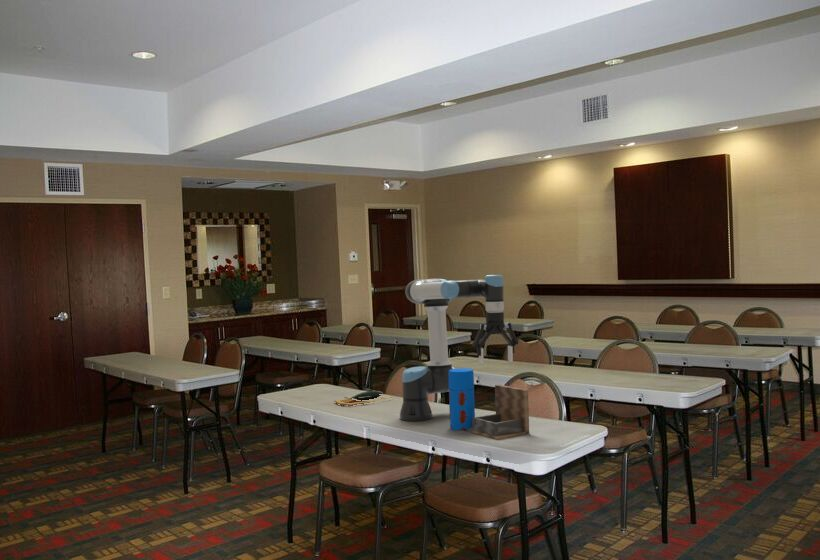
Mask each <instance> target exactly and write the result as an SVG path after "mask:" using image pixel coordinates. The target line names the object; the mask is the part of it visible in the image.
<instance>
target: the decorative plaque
mask: <svg viewBox="0 0 820 560" xmlns="http://www.w3.org/2000/svg"><path fill="white" fill-rule="evenodd" d="M379 394H382V395H384V396H386V397H387V398H392V396H388V395H385V394H384V393H383V392H382V391H380V390H373V389H370V388H366V390H362V391H358V392H356V393H355V394H353V395H352V396H348V397H346V396H345V397H343V399H342V398H341V399H337V400H334V401H333V403H334V402H336V403H337V404H340V405H348V406H353V405H357V404H364V403H370V402H375V401H379V400H381V399H386V398H381V399H378V400H374V401H362V400H369V399H374V398H377V397H379V396H381V395H379ZM352 398H353V399H357V400H361V401H356V400H352ZM337 404H336V405H337Z"/></svg>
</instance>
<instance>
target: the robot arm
mask: <svg viewBox="0 0 820 560" xmlns="http://www.w3.org/2000/svg"><path fill="white" fill-rule="evenodd" d="M503 278H504V277H503V275H501V274H487V275H485V276H484V279H478V278H477V279H475V278H474V279H463V280H449V279H448V280H447V279H444V278H426V279H425V278H424V279H423V278H422V279H420V278H419V279H413V280H412V281H410V282H409V283H407V285H406V286H405V287H406V288H405V291H404V292H405V296H406V298H407V300H409V301H410V302H411V303H413V304H417V305H420V304H421V305H423V308H424V309H425V310H426V311H427V324H428V325H427V326H428V327H427V328H428V342H429V359H430V360H429V362H428V364H427V365H426V366H424V365H423V366H413V367H409V368H406V369H405V370H403V372H402V379H401V382H402V405H401V408H400V412H399V419H400V420H402V421H407V422H408V421H409V422H419V421H420V422H423V421H427V420H431V419H432V418H433V411H432V409H431V406H430V403H429V395H431V394H440V393H447V392H448V393H449V375H448V374H449V370H451V369H456V368H455V367H454V366H452V362H451V361H450V360H449V350H448V331H447V316H446V315H447V314H446V313H447V311H446V310H447V308H449V303H451V302H452V300H453V299H466V298H467V299H468V298H485V301H484V302H485V311H486V313H485V324H484V323H479V324H478V329H477V332H476V335H475V337H474V339H473V342H472V345H471V346H472V347H474V348H476V355H477V357H478V364H481V365H484V348H483V346H484V345H485V344H486V341H487V340H488V338H489V337H490V336H491V335H501V336H502V338H503V339H504V340H505V341H506V342H507V344H508V345H507V361H508V362H510V363H512V362H514V361H513V360H514V359H513V358H514V357H513V356H514V355H513V354H515V347H516V345H518V344H519V340H518V338H517V337H516V335H515V332H514V331H513V328H512V323H511V322H508V321H507V322H505V312H504V310H505V308H504V307H505V306H504V305H505V304H504V303H505V302H504V279H503ZM504 328H505V329H506V330H507V333H508V334H507V333H506V331H505V330H504ZM485 329H486V331H485V332H484V330H485ZM483 333H484V334H483Z"/></svg>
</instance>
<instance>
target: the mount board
mask: <svg viewBox="0 0 820 560" xmlns="http://www.w3.org/2000/svg"><path fill="white" fill-rule="evenodd" d="M494 395H495V397H494V398H495V399H494V400H495V413H494V414H486V415H481V416H475V417H474V418H472V428H473V429H468V430H467V431H468V432H469V433H472V434H476V435H480V436H484V437H487V438H490V439H493V440H502V439H509V438H513V436H514V437H519V436H523V435H522V434H524V435H527V434H526V433H529V434H530V414H529V413H530V412H529V411H530V410H529V409H530V408H529V407H530V406H529V389H526V388H525V389H524V388H520V387H513V386H508V385H503V384H495V385H494ZM518 435H519V436H518ZM508 437H509V438H508Z"/></svg>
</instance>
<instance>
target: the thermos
mask: <svg viewBox="0 0 820 560" xmlns="http://www.w3.org/2000/svg"><path fill="white" fill-rule="evenodd" d="M448 375H449V391H448V397H449V398H448V399H449V400H448V401H449V403H448V405H449V425H450V429H451V430H453V431H460V430H463V431H468V429H473V428H472V418H474V417H476V410H475V383H474V382H475V381H474V380H475V374H474V369H472V368H455V369H451V370H449V374H448Z"/></svg>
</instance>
